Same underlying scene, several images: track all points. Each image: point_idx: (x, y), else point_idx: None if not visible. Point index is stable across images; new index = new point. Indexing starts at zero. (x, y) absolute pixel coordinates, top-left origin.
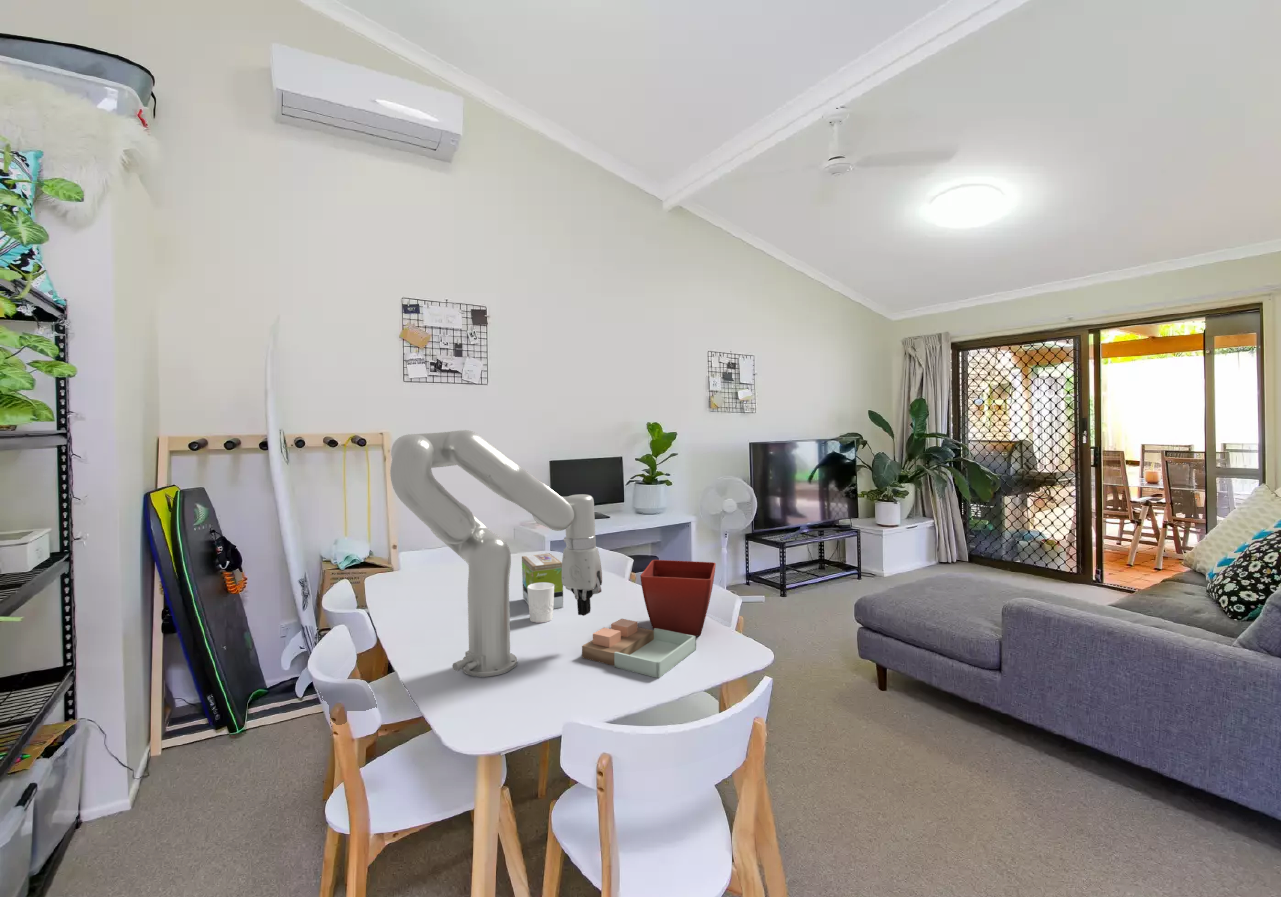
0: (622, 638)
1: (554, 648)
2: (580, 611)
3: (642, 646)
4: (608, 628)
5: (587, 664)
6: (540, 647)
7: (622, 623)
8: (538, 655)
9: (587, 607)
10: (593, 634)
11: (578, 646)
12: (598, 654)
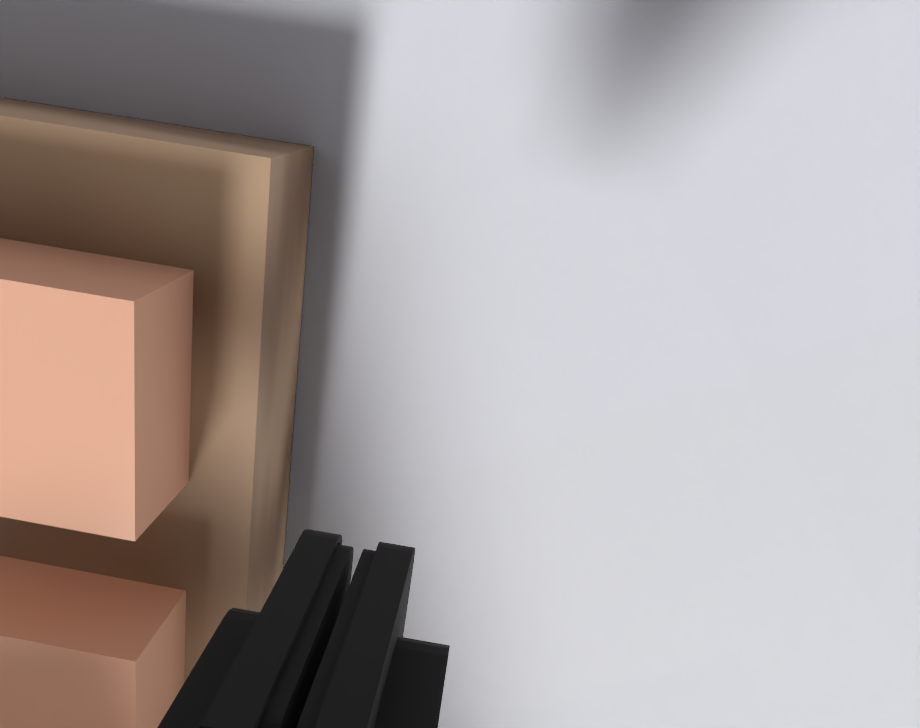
0: None
1: (729, 273)
2: (353, 581)
3: None
4: (73, 529)
5: (172, 11)
6: (906, 243)
7: (33, 709)
8: (823, 17)
9: (203, 667)
10: (127, 297)
11: (506, 404)
12: (62, 117)
